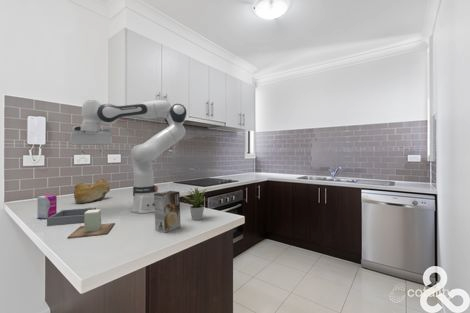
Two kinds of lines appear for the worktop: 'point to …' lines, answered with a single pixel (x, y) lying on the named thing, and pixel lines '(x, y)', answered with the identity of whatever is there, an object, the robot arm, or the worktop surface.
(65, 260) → the worktop surface
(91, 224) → the sage block
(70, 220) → the frame
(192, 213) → the house plant
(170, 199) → the coffee box
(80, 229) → the walnut pad
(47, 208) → the supplement box
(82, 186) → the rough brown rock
